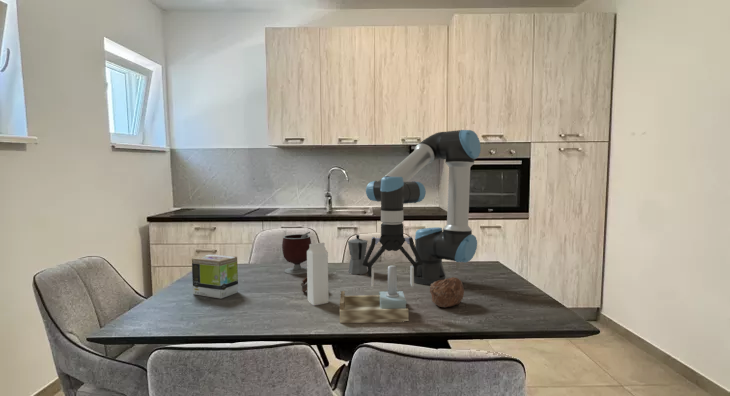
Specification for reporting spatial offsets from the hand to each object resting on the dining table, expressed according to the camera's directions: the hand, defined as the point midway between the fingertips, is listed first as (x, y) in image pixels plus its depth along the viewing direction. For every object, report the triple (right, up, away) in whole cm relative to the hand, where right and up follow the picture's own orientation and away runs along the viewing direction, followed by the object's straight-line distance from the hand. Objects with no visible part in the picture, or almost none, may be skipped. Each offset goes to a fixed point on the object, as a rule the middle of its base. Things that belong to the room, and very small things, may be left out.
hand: (392, 285), depth 132 cm
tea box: (-69, -9, +24) cm, 74 cm away
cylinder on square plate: (0, -8, +1) cm, 8 cm away
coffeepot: (-12, -6, +54) cm, 56 cm away
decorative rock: (+20, -9, +9) cm, 24 cm away
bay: (-6, -9, +2) cm, 12 cm away
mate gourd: (-41, -6, +58) cm, 71 cm away
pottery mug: (-29, -8, +26) cm, 40 cm away
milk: (-27, -9, +13) cm, 31 cm away
